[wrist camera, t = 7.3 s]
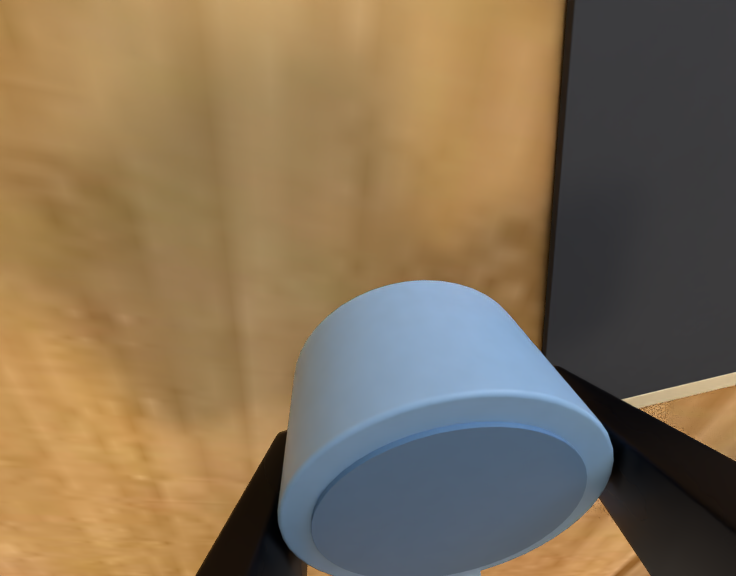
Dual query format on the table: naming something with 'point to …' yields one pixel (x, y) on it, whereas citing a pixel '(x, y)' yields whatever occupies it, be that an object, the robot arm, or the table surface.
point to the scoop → (431, 439)
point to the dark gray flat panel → (645, 200)
